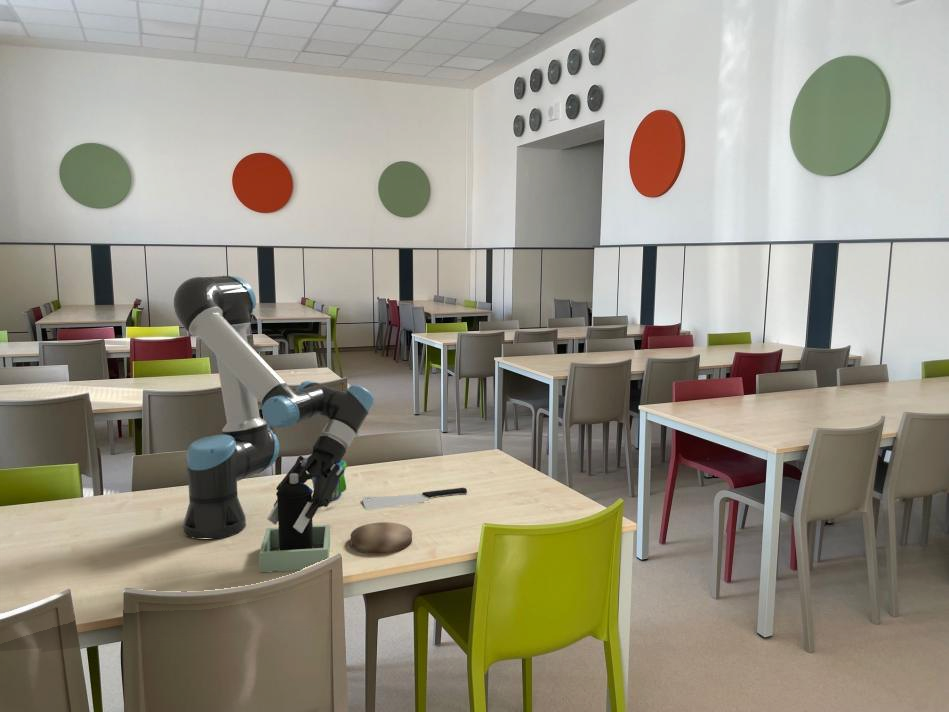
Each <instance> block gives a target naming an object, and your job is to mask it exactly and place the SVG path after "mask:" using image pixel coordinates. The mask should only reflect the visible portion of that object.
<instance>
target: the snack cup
mask: <svg viewBox="0 0 949 712" xmlns="http://www.w3.org/2000/svg"><path fill="white" fill-rule="evenodd" d="M338 465H339V466H340V467H341V468H342V469H343V470H344V472H343V474H342V475H341V477H340V478H339V480H338V482H337V485H336V487H335V490H334V492H333V495H332V497H331V500H330V501H334V500H337V499H339V498H340V497H341V496H342V494H343V493H344V492H345V491H346V490H347V482H346V478H345V471H346V468H347V467H348V466H347V463H346V461H345V460H343V459H342V460H341V461H340V463H338ZM329 474H330V473H329ZM310 480H311V481H312V488H313V489H314V486H315V482H316V477H313V478H312V479H310Z"/></svg>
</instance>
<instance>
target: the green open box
mask: <svg viewBox="0 0 949 712" xmlns="http://www.w3.org/2000/svg"><path fill="white" fill-rule="evenodd" d="M330 525H331V524H318V525H313V546H315V545H323V547H319V548H318V547H317V548H314V547H313V549H298V550H282V551H279V550H270V549H272V548H279V527H267V528H266V529H265V532H264V535H263V539H262V543H261V544H260V549H259V551H258V567H259V571H258V572H259V574H261V573H260V572H267V573H272V572H271V571H282V572H293V571H294V572H295V571H302V570H301V569H303V568H305V567H308V566H310V565H313V564H315V563H317V562H320V561H322V560H325V559H327V558H329V559H330V552H331V551H330V550H331V526H330ZM269 571H270V572H269Z"/></svg>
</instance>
